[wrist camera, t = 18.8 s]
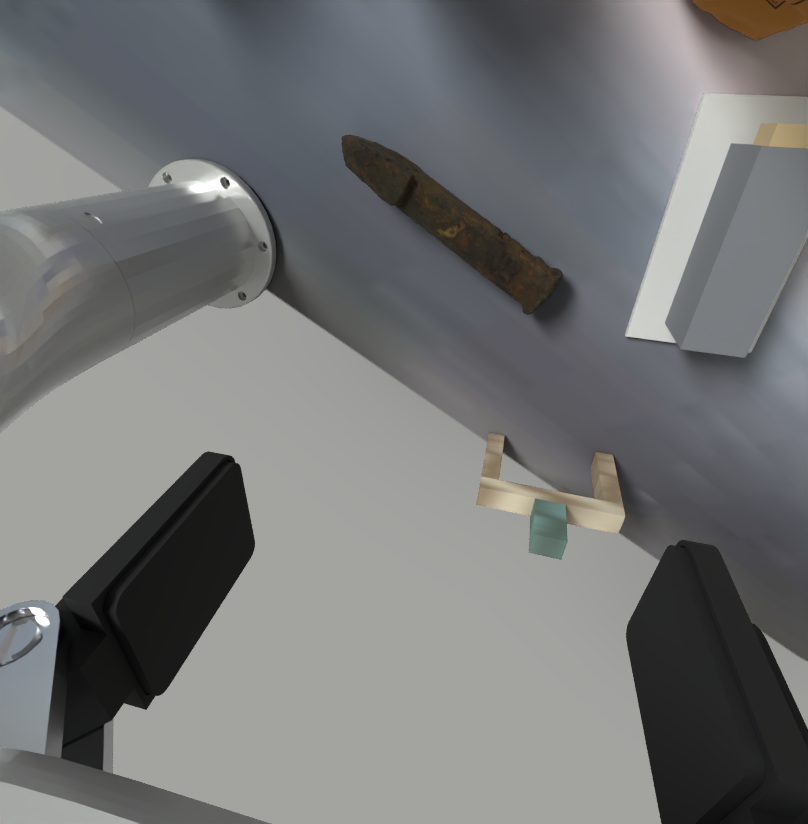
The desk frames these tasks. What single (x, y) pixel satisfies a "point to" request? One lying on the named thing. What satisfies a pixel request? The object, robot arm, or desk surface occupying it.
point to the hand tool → (452, 222)
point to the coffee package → (757, 15)
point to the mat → (703, 198)
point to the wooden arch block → (553, 502)
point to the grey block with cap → (744, 243)
